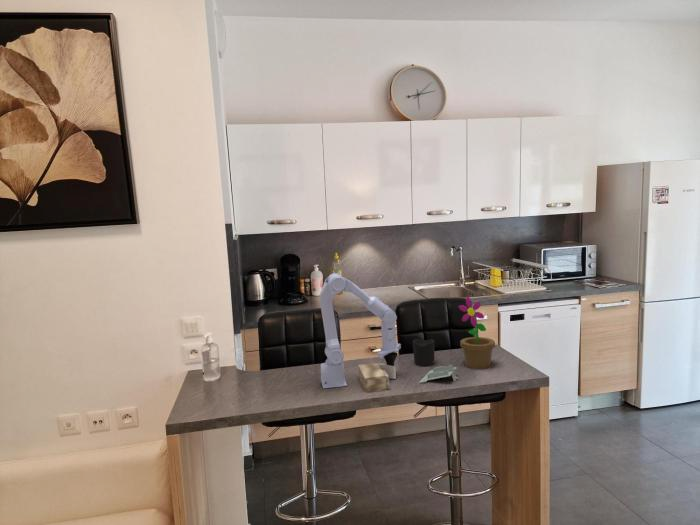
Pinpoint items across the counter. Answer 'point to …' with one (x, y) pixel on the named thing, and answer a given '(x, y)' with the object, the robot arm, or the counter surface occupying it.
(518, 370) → the counter surface
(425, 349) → the pen holder
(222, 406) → the counter surface
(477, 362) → the flowerpot
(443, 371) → the metal bracket
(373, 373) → the beige rectangular block
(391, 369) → the door
